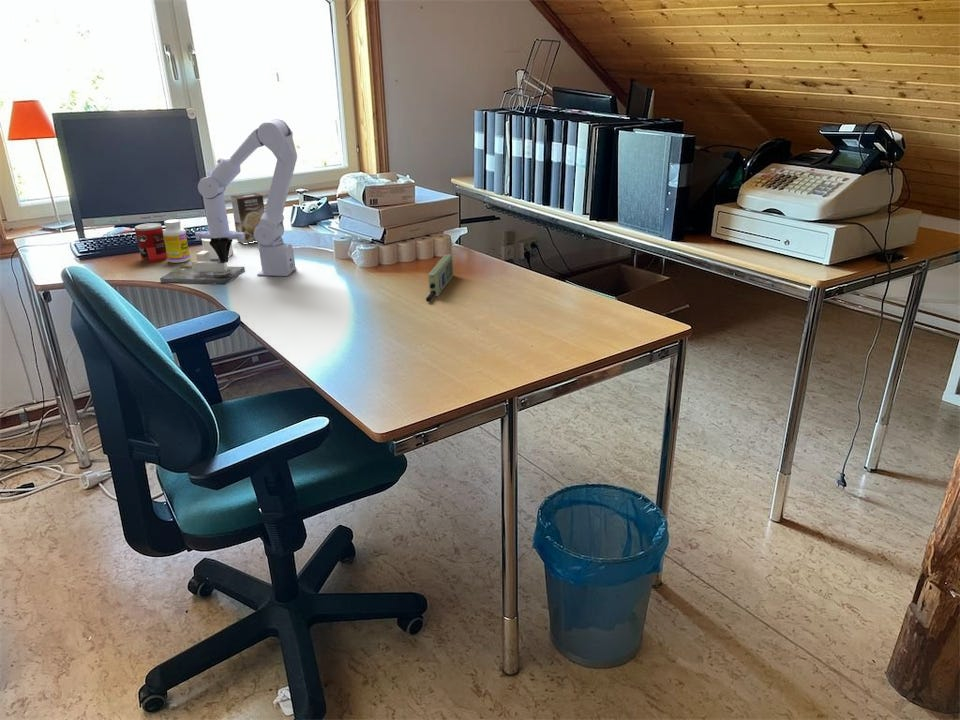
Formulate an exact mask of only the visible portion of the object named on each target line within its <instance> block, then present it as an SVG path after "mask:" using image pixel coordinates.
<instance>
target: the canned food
mask: <svg viewBox="0 0 960 720" xmlns="http://www.w3.org/2000/svg"><path fill="white" fill-rule="evenodd" d="M134 230H135V237H136V241H137V245H138V248H139V249H138V250H139V253H140V258H141V260H142V262H144V261H146V262H145V263H156V262H155V261H158V262H162V260H163V261H165V260H168V257H167V252H166V246H165V241H164V237H163V231H164V230H163V226H162V224H161V223H159V222H149V223H141V224H138V225H136V226H134Z"/></svg>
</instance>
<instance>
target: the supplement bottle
mask: <svg viewBox="0 0 960 720" xmlns="http://www.w3.org/2000/svg"><path fill="white" fill-rule="evenodd" d="M163 224H164V227H165V229H164V230H163V237H164V241H165V246H166V252H167V260H168V262H169V263H172V264H180V263H181V264H182V263H185V262H188V261H190V260H191V256H190V255H191V254H190V250H189V249H190V248H189V244H188V238H187V233H186V230H185V229H184V228H183V227H181V220H180V219H167V220H164V222H163Z"/></svg>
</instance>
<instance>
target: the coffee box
mask: <svg viewBox="0 0 960 720" xmlns="http://www.w3.org/2000/svg"><path fill="white" fill-rule="evenodd" d="M230 201H231V206H232V212H233V213H232V215H233V221H234V227H235V232H244V234H245V239H244V240H238V239H236V240H237V241H239V242H241V243H249V242H253V241H256V240H255V238H254V230H255V228H256V227H257V226H258V225H259V223H260V219H261V217H262V215H263V213H264V211H265V204H264V197H263V194H260V193H256V192H253V193H245V194H237V195H235V194H234V195H231V196H230ZM239 242H238V243H239ZM241 243H240V244H241Z"/></svg>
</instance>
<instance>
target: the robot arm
mask: <svg viewBox="0 0 960 720" xmlns="http://www.w3.org/2000/svg"><path fill="white" fill-rule="evenodd" d="M293 133H294V132H293V131H292V129H291V128H290V126H289V124H287V122H286V121H284V120H282V119H279V118H276V119H273V120H271V121H267V122H263V123H261V124H260V125H259V126H258V128H256V129H254V130H253V131H252V132H251V133H250V134H249V135H248V136H247V138H246V139H245V140H244V141H243V142H242V143H241V145H240V146H239V147H238V148H237V149H236V150H235V152H234V153H233V154H232V155H231V156H224V157H222V158H218V160H217V161H216V163H217V164H216V165H215V167H213V168H212V169H211V170H208V171H207V173H206V174H207V176H205V177H202V178H201V179H199V181H198V184H197V190H198V192H199V194H200V195H201V196H202V200H203V205H204V211H205V215H206V222H207V227H208V228H209V229H208V230H207V231H206V230H205V231H197V232H195V233H194V236H195V239H196V240H202V239H211V241H210V242H209V243H210V245H211V246H212V248H213V249H214V250H215V252H216V253H217V255H218V257H219V259H218V260H219V262H226V263H227V264H228V263H229V257H228V256H229V250H230V246H231V243H232V244H233V240H237V239H238V240H244V239H245V234H244V232H236V230H234V231H233V230H230V226H229V220H228V219H229V218H228V213H227V207H226V202H225V197H224V193H225V191H226V188H227V187H228V186H229V184H231V182H233V180H235V178H236V177H237V176H238V175H239V174H240V173H241V165H242V164H243V163H244V162H245V161H246V160H247V159H248V158H249V157H250V156H251V155H252V154H253V153H254V152H255V151H256V150H257V149H258V148H261V147H264V146H265V147H266V148H267V149H268V150H270V151H271V152H272V154H273V156H274V157H275V158H276V163H275V168H274V171H273V175H272V180H271V185H270V188H269V192H268V195H267V200H266V204H265V207H264V210H265V211H264V213H263V215H262V217H261V219H260V223H259V225H258V226H257V227H256V228H255V230H254V238H255V240H256V241H257V242H258V243H257V244H258V245H257V246H258V252H259V258H260V265H261V270H260V271H258V273H257V274H256V275H257V276H269V277H271V276H272V277H273V276H275V277H288V276H289V275H291V274H292V273H293V272H294V271H295V270H297V266H296V261H295V254H294V249H293V245H292V244H290V243H286V242H284V240H283V238H282V237H283V235H284V232H285V226H284V219H285V217H284V214H283V213H284V211H285V207H286V202H287V198H288V194H289V192H290V191H289V190H290V188H291V183H292V178H293V175H294V171H295V167H296V162H297V160H298V154H297V150H296V146H295V143H294V142H295V141H294V139H293V136H294V135H293Z"/></svg>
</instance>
